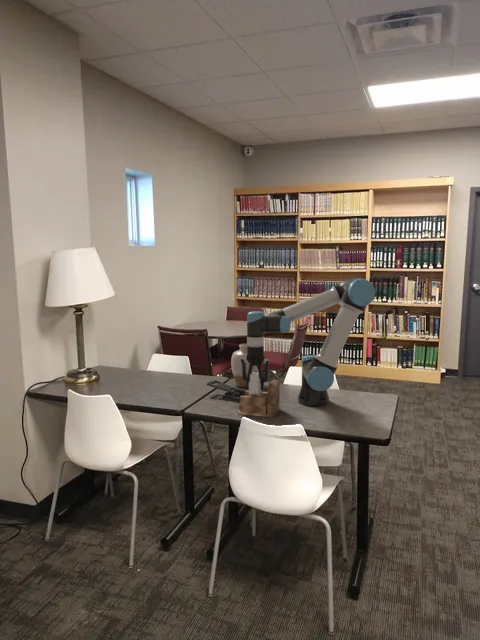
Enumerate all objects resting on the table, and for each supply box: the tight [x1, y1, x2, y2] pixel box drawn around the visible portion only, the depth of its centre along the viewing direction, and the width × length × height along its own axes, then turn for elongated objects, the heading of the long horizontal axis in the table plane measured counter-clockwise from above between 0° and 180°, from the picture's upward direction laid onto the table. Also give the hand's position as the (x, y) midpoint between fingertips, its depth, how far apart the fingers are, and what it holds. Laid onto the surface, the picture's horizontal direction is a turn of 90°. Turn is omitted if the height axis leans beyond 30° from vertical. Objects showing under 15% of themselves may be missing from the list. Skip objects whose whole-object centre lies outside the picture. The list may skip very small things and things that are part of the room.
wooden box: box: [237, 379, 281, 418], centre depth 218 cm, size 17×12×14 cm
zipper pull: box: [206, 379, 249, 403], centre depth 241 cm, size 9×7×25 cm
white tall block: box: [250, 372, 260, 397], centre depth 218 cm, size 4×4×12 cm
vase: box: [230, 343, 259, 389], centre depth 261 cm, size 16×16×23 cm
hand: (255, 395), depth 219 cm, fingers closed on white tall block, 4 cm apart
